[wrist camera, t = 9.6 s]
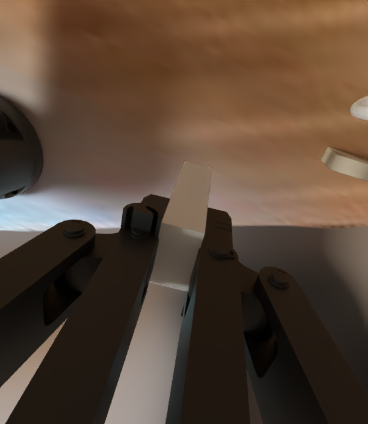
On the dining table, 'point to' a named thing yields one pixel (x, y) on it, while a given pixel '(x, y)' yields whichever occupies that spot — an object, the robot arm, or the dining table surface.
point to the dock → (346, 163)
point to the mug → (360, 108)
